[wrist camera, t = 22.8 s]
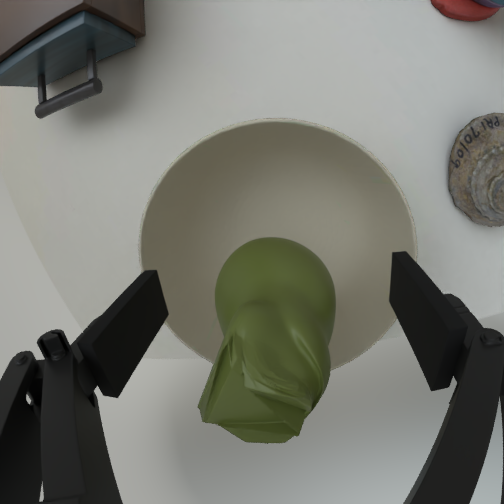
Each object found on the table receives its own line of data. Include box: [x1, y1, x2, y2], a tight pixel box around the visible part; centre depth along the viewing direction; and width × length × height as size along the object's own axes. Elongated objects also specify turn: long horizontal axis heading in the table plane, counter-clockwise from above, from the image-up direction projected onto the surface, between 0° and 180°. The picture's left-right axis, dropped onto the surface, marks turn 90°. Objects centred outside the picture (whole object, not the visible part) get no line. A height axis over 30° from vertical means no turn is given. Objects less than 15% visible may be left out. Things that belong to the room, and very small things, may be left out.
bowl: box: [139, 118, 417, 371], centre depth 21 cm, size 16×16×10 cm
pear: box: [198, 237, 336, 444], centre depth 12 cm, size 6×5×10 cm
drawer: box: [0, 10, 136, 119], centre depth 16 cm, size 18×12×8 cm, turn 7°
